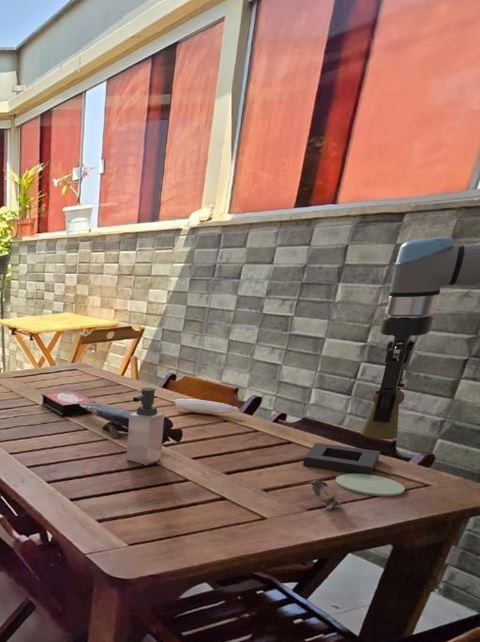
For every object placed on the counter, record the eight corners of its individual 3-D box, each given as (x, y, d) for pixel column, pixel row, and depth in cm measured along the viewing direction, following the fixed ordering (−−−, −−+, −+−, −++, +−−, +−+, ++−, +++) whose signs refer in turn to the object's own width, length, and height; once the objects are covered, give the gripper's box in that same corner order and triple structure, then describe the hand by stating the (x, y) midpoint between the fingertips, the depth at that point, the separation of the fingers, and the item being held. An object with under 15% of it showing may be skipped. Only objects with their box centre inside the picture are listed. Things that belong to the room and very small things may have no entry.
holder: (378, 459, 130) (380, 451, 129) (370, 476, 122) (372, 467, 122) (313, 450, 140) (315, 442, 139) (302, 465, 132) (304, 456, 131)
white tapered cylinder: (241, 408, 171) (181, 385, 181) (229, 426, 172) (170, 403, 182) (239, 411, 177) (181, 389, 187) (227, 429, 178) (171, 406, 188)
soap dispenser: (121, 462, 148) (125, 391, 140) (140, 454, 151) (145, 385, 144) (141, 468, 142) (146, 394, 135) (160, 460, 146) (166, 388, 138)
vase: (299, 502, 115) (303, 479, 113) (317, 497, 116) (322, 474, 114) (323, 511, 110) (329, 487, 108) (343, 507, 111) (348, 483, 109)
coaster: (407, 482, 118) (407, 480, 117) (400, 500, 110) (401, 498, 110) (340, 472, 126) (340, 469, 126) (330, 488, 119) (331, 485, 119)
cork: (359, 436, 115) (369, 391, 112) (362, 429, 119) (373, 385, 115) (395, 441, 111) (407, 393, 107) (398, 433, 114) (410, 387, 111)
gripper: (389, 310, 114) (367, 406, 122) (377, 321, 103) (353, 426, 111) (437, 309, 108) (410, 410, 116) (429, 321, 97) (401, 431, 105)
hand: (383, 417), depth 113 cm, fingers closed on cork, 5 cm apart
